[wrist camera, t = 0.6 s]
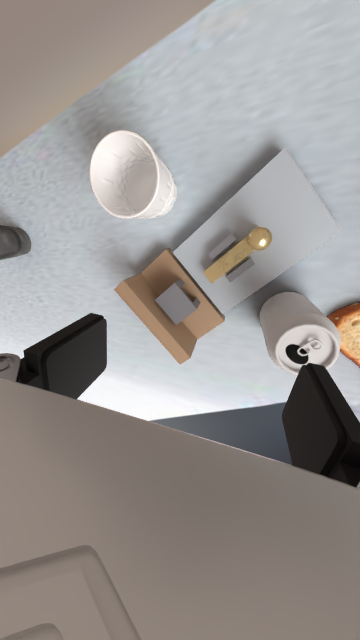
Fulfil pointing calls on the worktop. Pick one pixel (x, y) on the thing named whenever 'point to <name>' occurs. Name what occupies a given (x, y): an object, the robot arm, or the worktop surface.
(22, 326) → the worktop surface
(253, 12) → the worktop surface
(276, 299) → the can
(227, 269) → the bolt
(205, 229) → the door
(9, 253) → the beverage cup
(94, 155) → the white cup
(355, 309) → the slice of bread
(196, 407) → the worktop surface
